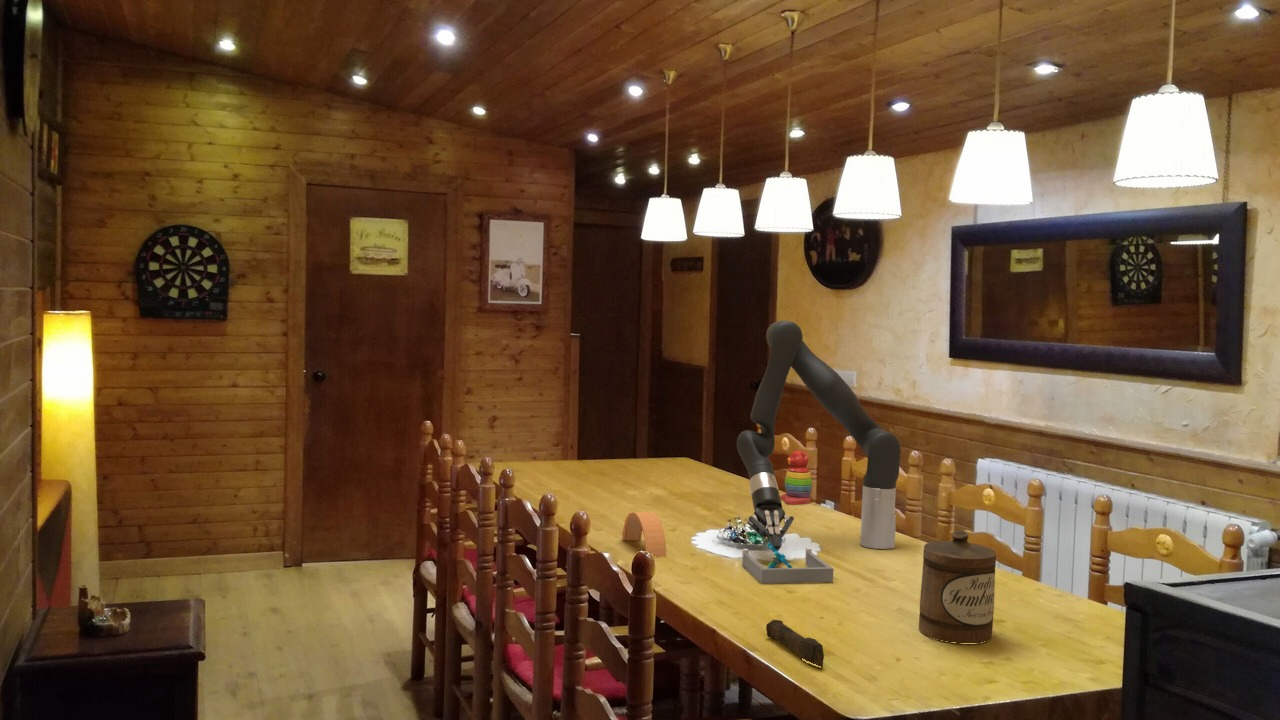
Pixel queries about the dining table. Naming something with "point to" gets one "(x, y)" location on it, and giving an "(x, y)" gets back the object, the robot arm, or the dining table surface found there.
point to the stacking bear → (797, 480)
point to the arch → (646, 531)
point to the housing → (789, 570)
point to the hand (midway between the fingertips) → (776, 549)
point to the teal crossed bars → (777, 558)
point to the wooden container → (957, 590)
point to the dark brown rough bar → (796, 642)
